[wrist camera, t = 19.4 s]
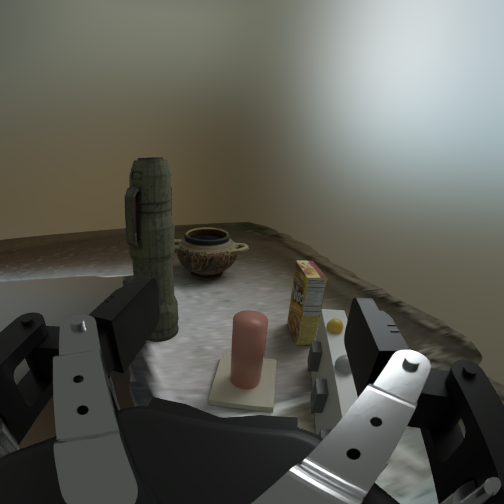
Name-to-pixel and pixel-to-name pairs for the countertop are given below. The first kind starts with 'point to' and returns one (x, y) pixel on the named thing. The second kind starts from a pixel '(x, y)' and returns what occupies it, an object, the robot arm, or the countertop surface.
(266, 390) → the pad
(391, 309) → the countertop surface
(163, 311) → the thermos
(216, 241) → the ceramic bowl
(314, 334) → the candy box
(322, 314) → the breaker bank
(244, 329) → the pink cylinder
